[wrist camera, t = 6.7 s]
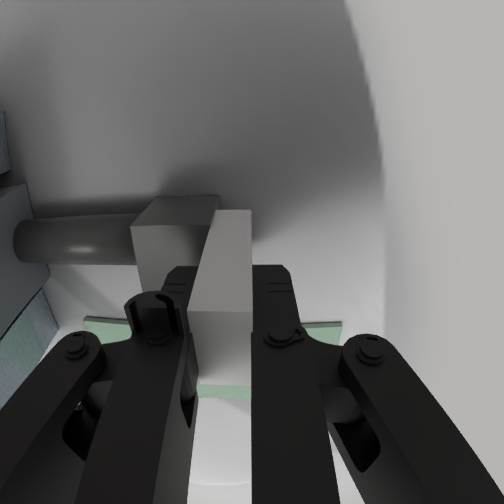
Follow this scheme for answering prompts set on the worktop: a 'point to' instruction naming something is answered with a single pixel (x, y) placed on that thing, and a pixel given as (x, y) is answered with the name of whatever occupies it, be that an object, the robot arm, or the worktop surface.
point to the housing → (22, 323)
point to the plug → (96, 243)
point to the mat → (121, 331)
